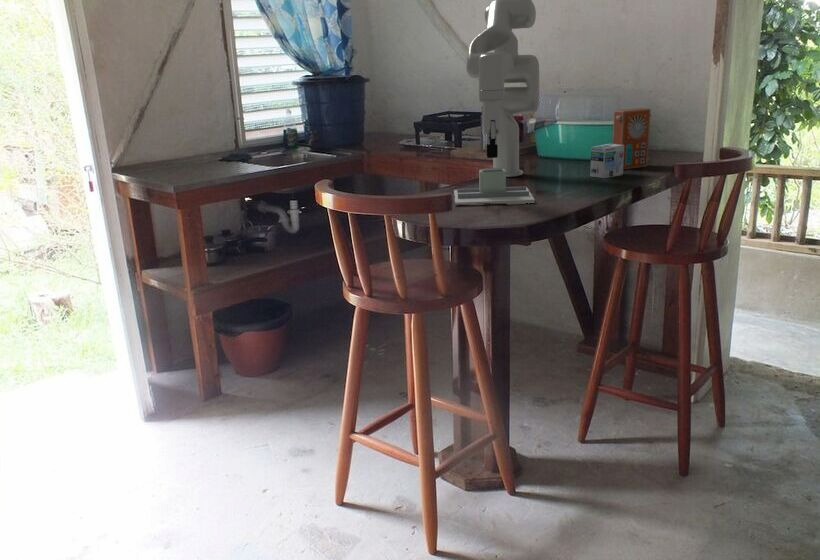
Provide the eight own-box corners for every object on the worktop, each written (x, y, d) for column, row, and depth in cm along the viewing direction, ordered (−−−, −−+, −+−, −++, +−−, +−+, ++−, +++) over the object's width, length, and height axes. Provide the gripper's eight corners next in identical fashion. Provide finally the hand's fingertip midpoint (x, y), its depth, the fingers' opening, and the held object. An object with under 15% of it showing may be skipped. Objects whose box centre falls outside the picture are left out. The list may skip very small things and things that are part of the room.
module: (479, 191, 221) (479, 168, 219) (504, 190, 221) (504, 167, 219) (480, 194, 217) (479, 171, 214) (505, 193, 216) (505, 170, 214)
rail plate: (454, 193, 229) (453, 185, 229) (526, 190, 228) (527, 183, 227) (455, 206, 210) (454, 197, 210) (534, 203, 209) (534, 195, 208)
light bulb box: (604, 178, 242) (605, 147, 239) (589, 176, 248) (590, 146, 244) (623, 174, 248) (625, 144, 245) (608, 172, 254) (609, 143, 250)
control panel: (651, 166, 262) (618, 170, 257) (639, 164, 268) (607, 168, 263) (654, 108, 255) (621, 111, 250) (642, 107, 262) (609, 110, 256)
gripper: (477, 95, 217) (478, 154, 223) (480, 98, 202) (481, 161, 208) (501, 94, 217) (502, 153, 222) (506, 97, 202) (506, 160, 208)
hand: (492, 156), depth 215 cm, fingers closed
